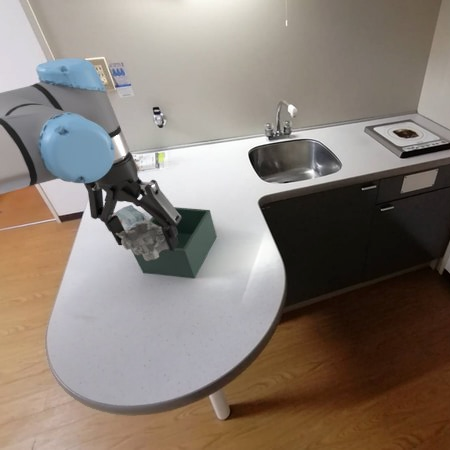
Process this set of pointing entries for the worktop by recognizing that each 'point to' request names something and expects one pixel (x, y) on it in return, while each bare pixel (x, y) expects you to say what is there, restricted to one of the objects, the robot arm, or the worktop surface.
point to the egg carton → (144, 240)
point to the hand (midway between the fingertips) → (148, 244)
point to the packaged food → (130, 217)
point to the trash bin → (184, 246)
